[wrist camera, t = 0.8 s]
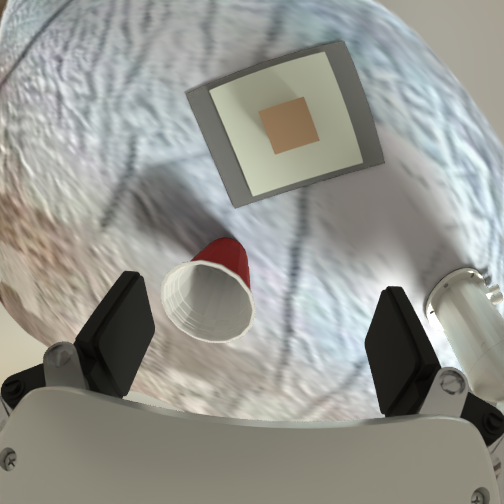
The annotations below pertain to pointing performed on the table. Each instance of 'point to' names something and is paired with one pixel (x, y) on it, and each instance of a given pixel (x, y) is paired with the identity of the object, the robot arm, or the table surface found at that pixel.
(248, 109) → the lid
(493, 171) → the table surface
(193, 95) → the mat
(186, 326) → the plastic cup
